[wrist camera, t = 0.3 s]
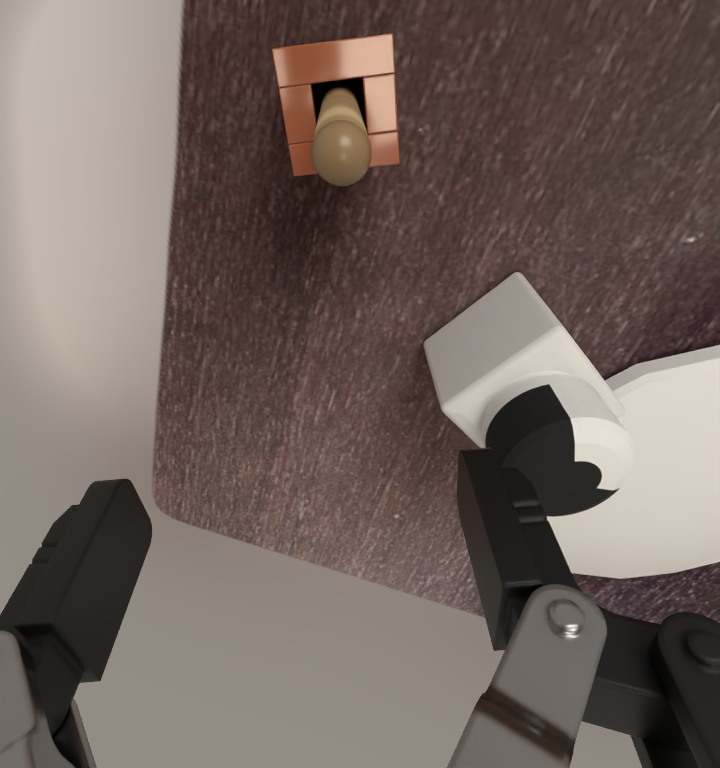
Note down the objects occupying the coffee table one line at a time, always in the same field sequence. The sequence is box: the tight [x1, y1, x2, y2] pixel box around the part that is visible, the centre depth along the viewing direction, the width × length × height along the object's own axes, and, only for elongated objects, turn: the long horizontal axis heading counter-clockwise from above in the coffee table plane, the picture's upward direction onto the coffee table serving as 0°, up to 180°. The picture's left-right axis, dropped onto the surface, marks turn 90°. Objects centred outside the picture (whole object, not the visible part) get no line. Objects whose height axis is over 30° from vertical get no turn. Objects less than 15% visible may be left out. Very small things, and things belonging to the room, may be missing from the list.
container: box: [423, 272, 635, 517], centre depth 29 cm, size 8×8×13 cm
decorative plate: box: [547, 345, 720, 579], centre depth 40 cm, size 25×4×25 cm
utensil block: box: [272, 33, 400, 176], centre depth 22 cm, size 4×4×8 cm
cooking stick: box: [311, 79, 372, 186], centre depth 18 cm, size 1×1×17 cm
